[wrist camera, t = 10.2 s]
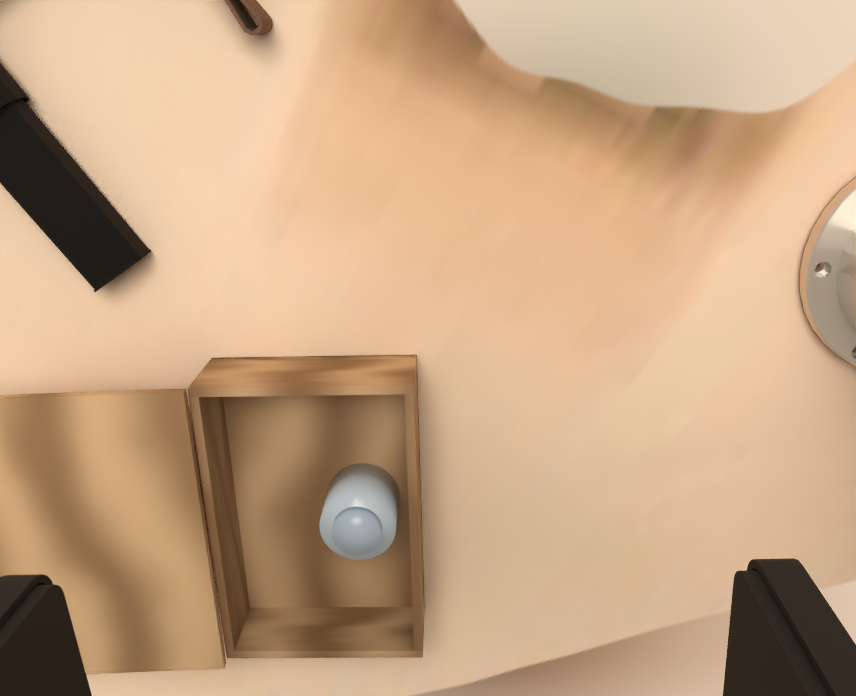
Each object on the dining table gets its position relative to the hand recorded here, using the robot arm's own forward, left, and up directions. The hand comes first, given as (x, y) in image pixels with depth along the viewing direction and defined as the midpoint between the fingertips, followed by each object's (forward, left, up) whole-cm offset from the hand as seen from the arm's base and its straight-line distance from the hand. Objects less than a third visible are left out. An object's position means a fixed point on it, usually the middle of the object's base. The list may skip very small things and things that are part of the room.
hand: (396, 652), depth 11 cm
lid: (+19, +17, -26) cm, 37 cm away
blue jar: (+5, +17, -33) cm, 37 cm away
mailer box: (+7, +17, -33) cm, 38 cm away
